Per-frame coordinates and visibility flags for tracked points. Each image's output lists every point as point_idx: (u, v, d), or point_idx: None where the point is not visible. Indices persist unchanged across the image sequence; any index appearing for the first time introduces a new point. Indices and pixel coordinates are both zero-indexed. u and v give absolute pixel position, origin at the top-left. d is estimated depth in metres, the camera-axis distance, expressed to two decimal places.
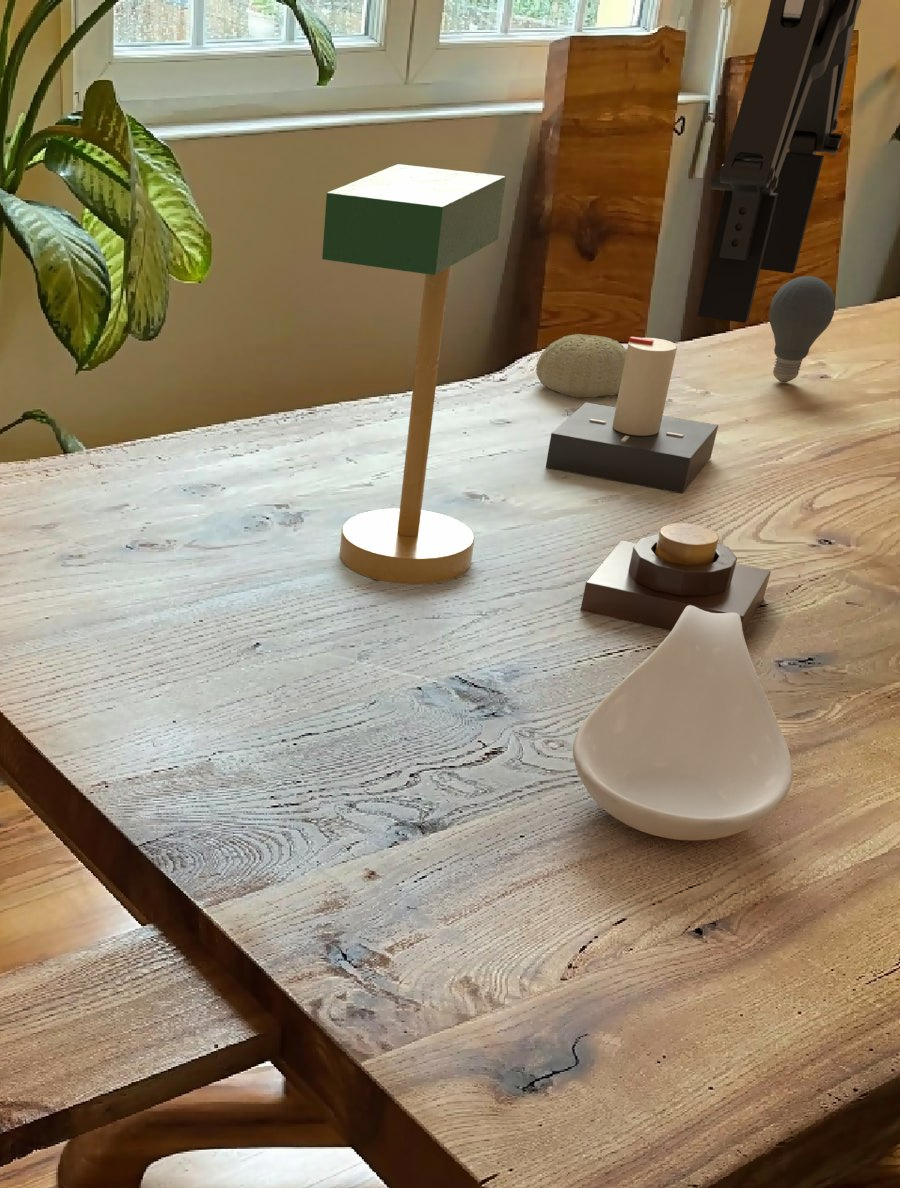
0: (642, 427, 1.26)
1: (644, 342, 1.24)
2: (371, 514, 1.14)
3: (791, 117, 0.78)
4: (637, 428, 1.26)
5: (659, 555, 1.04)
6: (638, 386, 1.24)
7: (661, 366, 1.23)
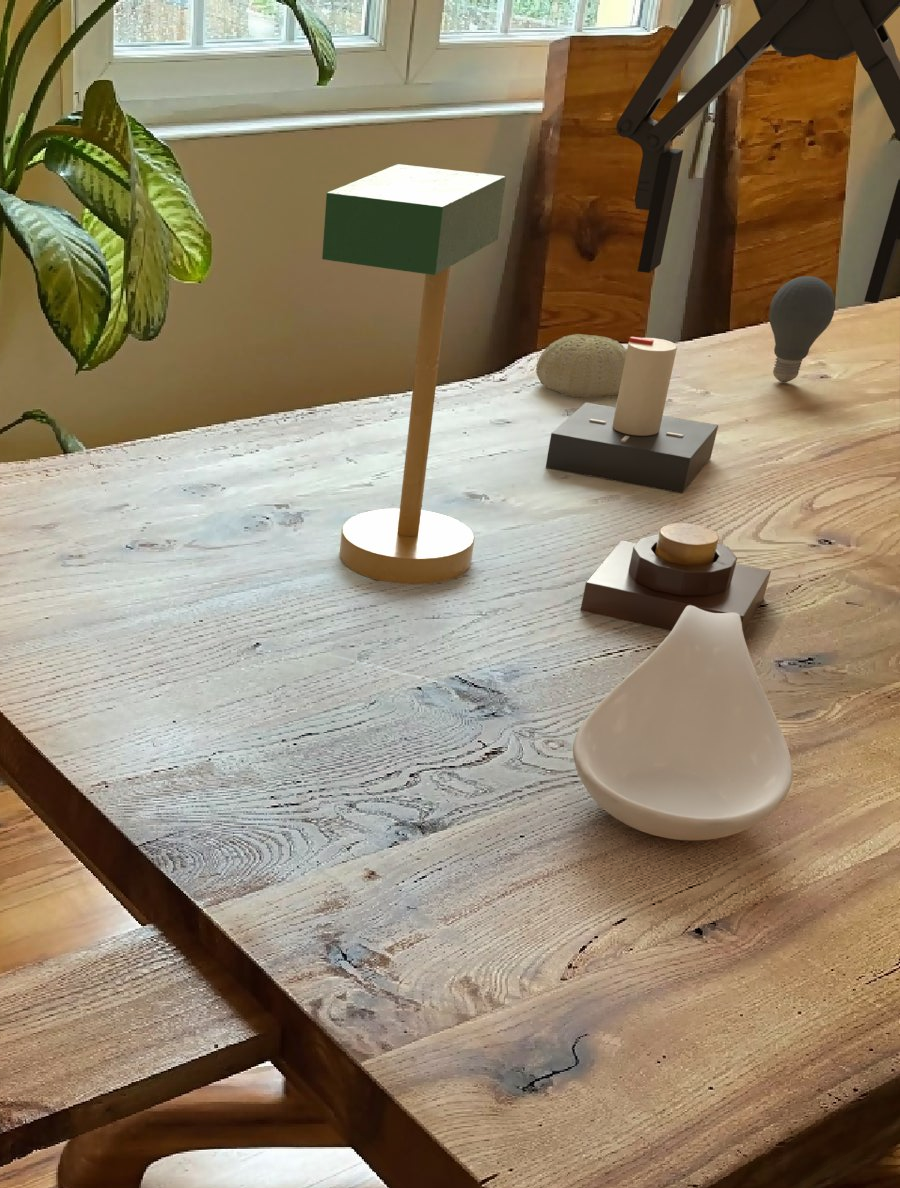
0: (642, 427, 1.26)
1: (644, 342, 1.24)
2: (371, 514, 1.14)
3: None
4: (637, 428, 1.26)
5: (659, 555, 1.04)
6: (638, 386, 1.24)
7: (661, 366, 1.23)
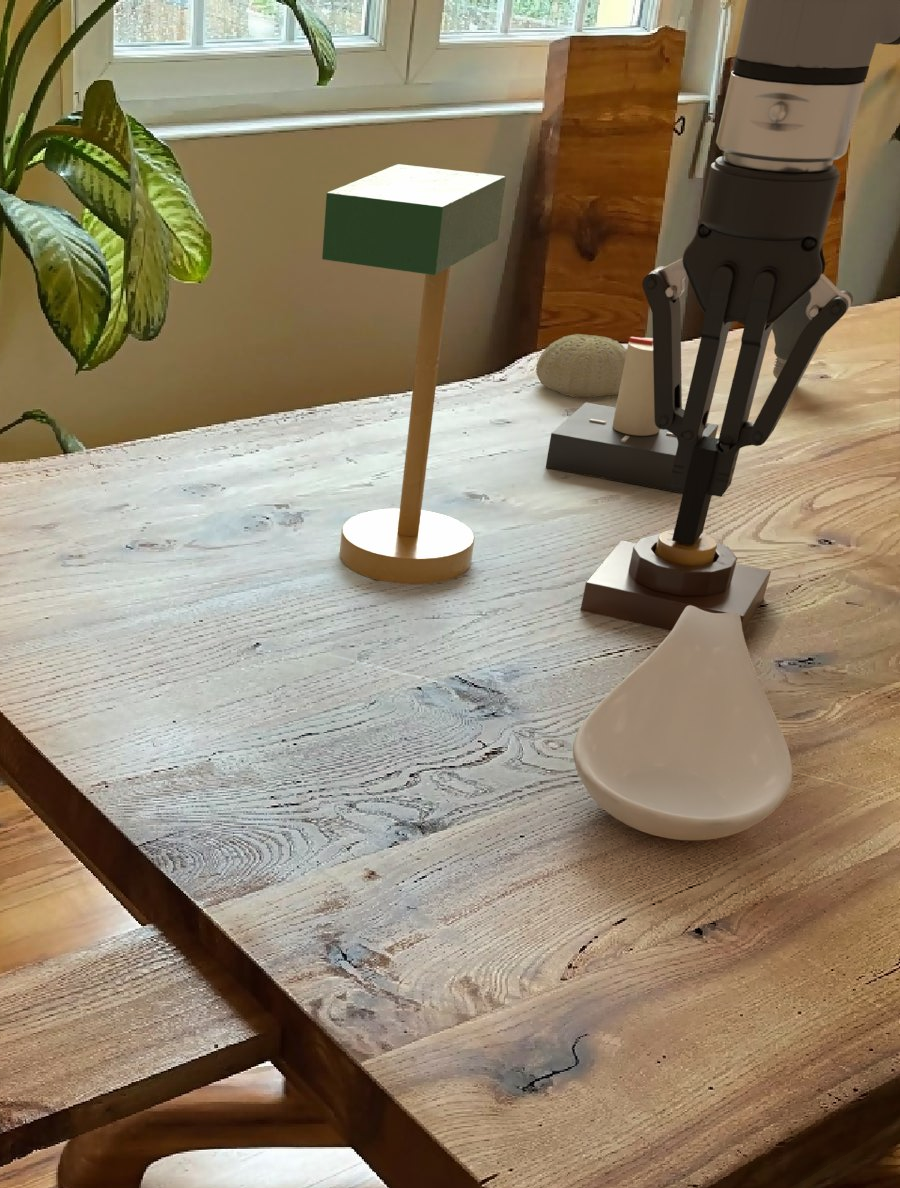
0: (642, 427, 1.26)
1: (644, 342, 1.24)
2: (371, 514, 1.14)
3: (756, 384, 0.97)
4: (637, 428, 1.26)
5: None
6: (638, 386, 1.24)
7: None
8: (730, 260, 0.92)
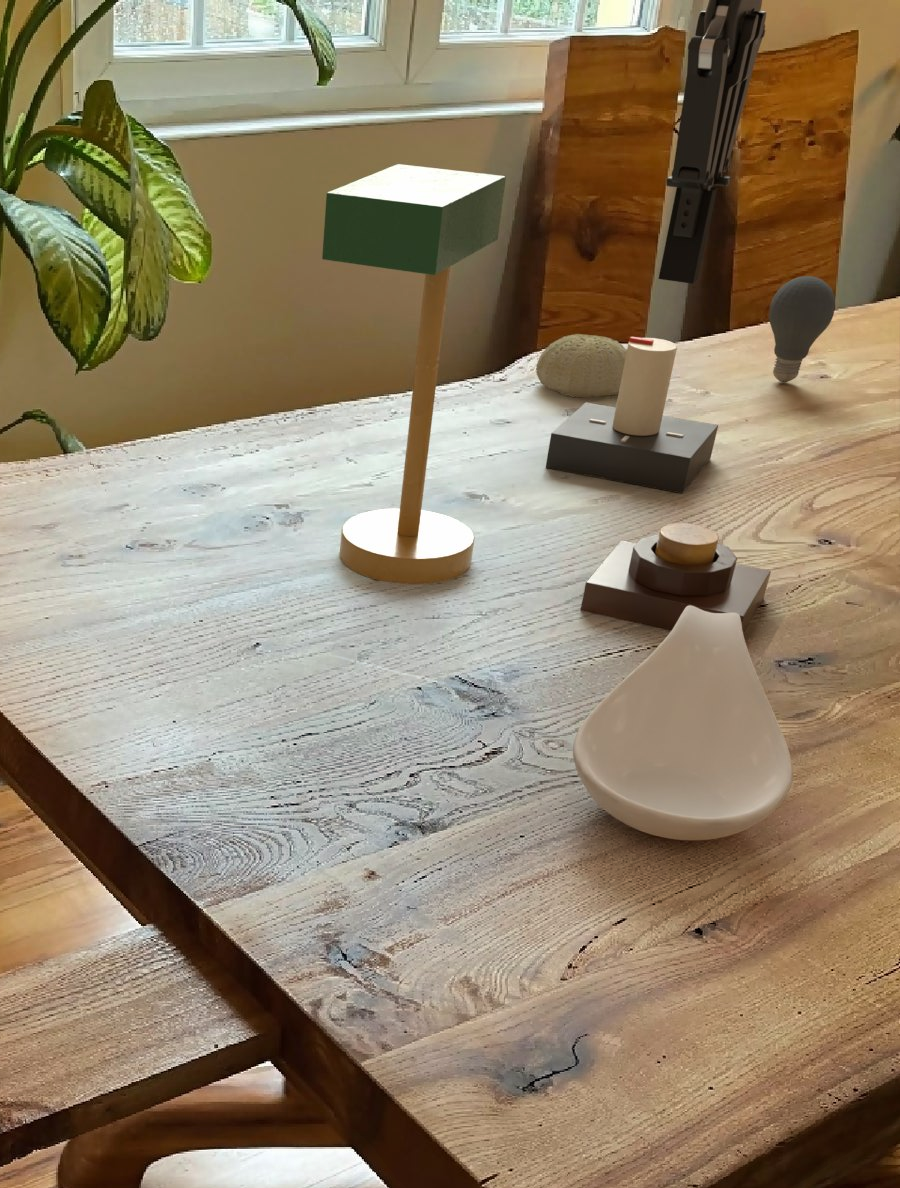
0: (642, 427, 1.26)
1: (644, 342, 1.24)
2: (371, 514, 1.14)
3: None
4: (637, 428, 1.26)
5: (659, 555, 1.04)
6: (638, 386, 1.24)
7: (661, 366, 1.23)
8: (746, 10, 1.03)
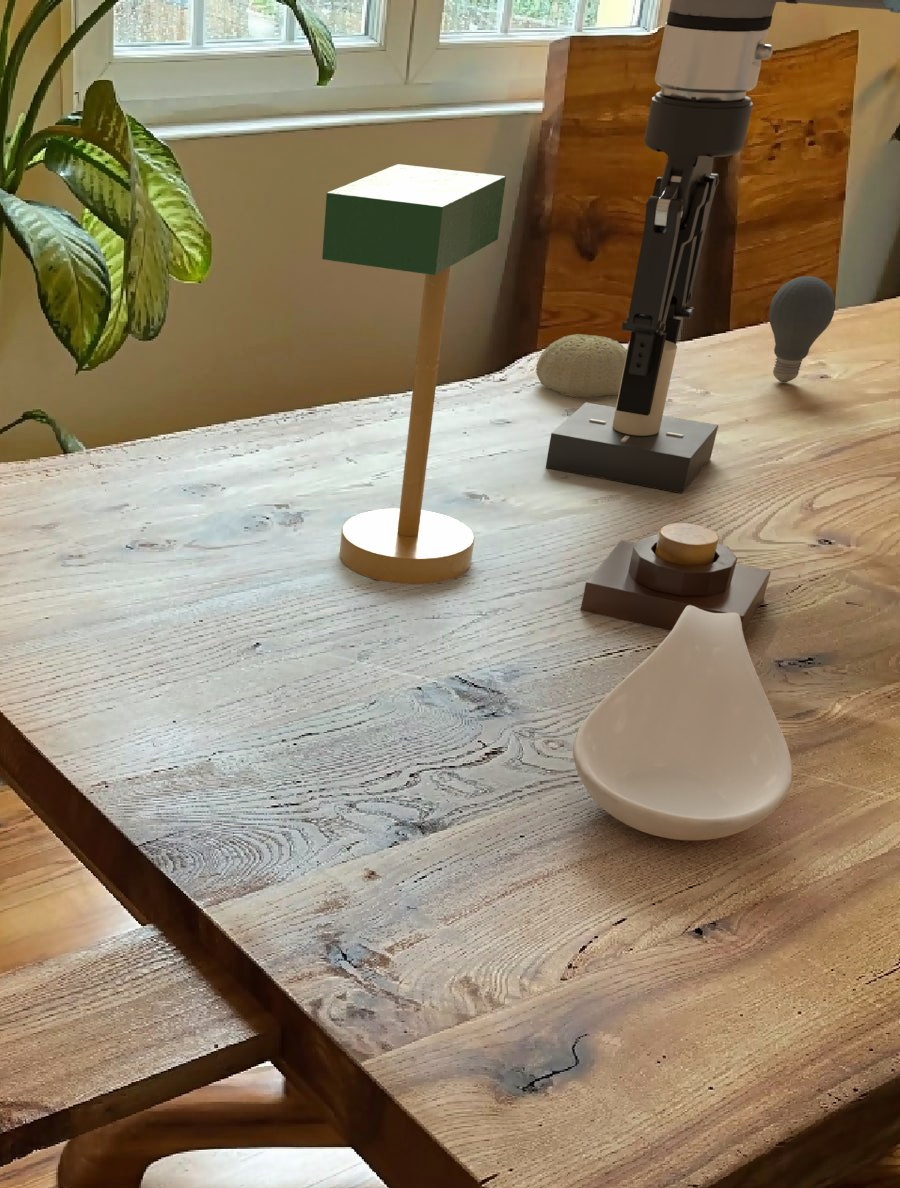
0: (642, 427, 1.26)
1: None
2: (371, 514, 1.14)
3: None
4: (637, 428, 1.26)
5: (659, 555, 1.04)
6: None
7: (661, 366, 1.23)
8: (697, 178, 1.15)
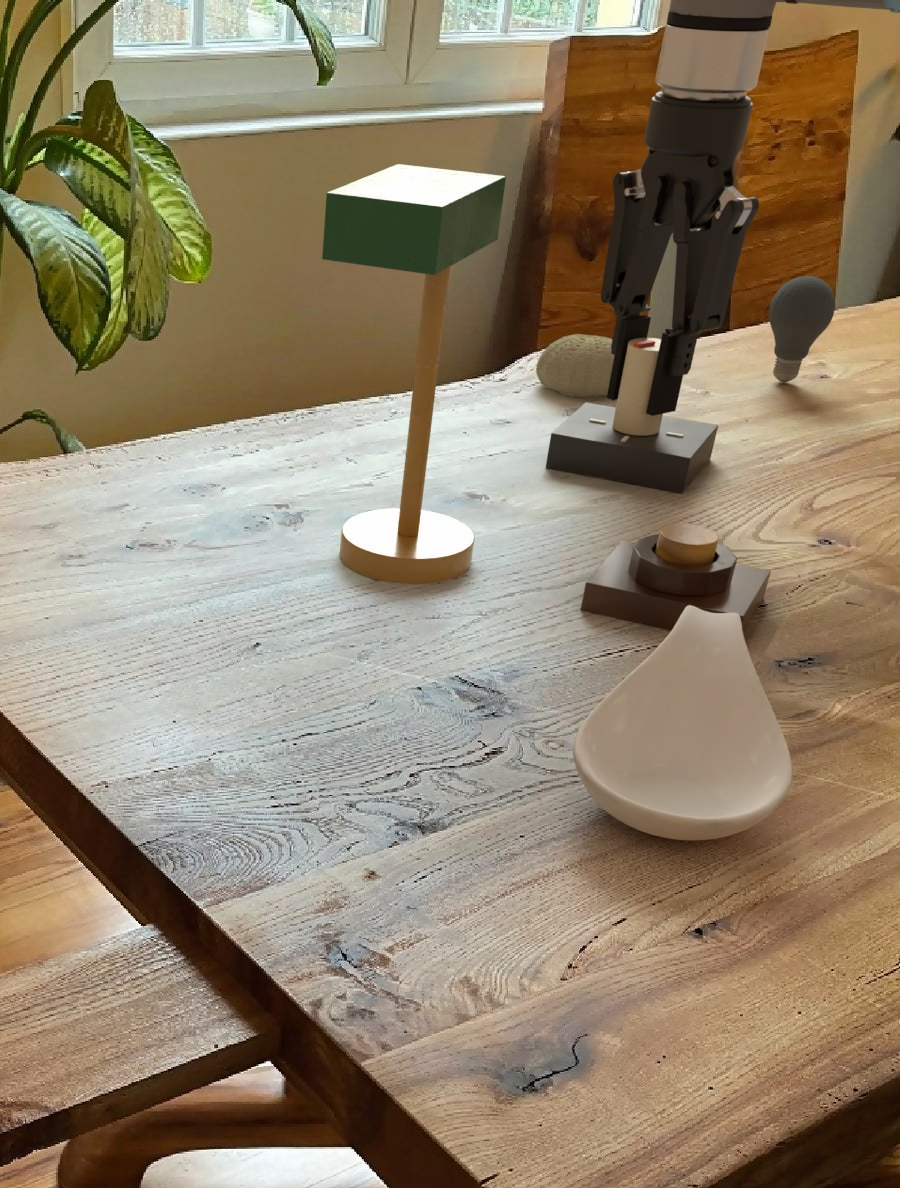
0: (660, 424, 1.27)
1: (650, 344, 1.23)
2: (371, 514, 1.14)
3: (629, 266, 1.22)
4: (657, 426, 1.27)
5: (659, 555, 1.04)
6: None
7: None
8: None
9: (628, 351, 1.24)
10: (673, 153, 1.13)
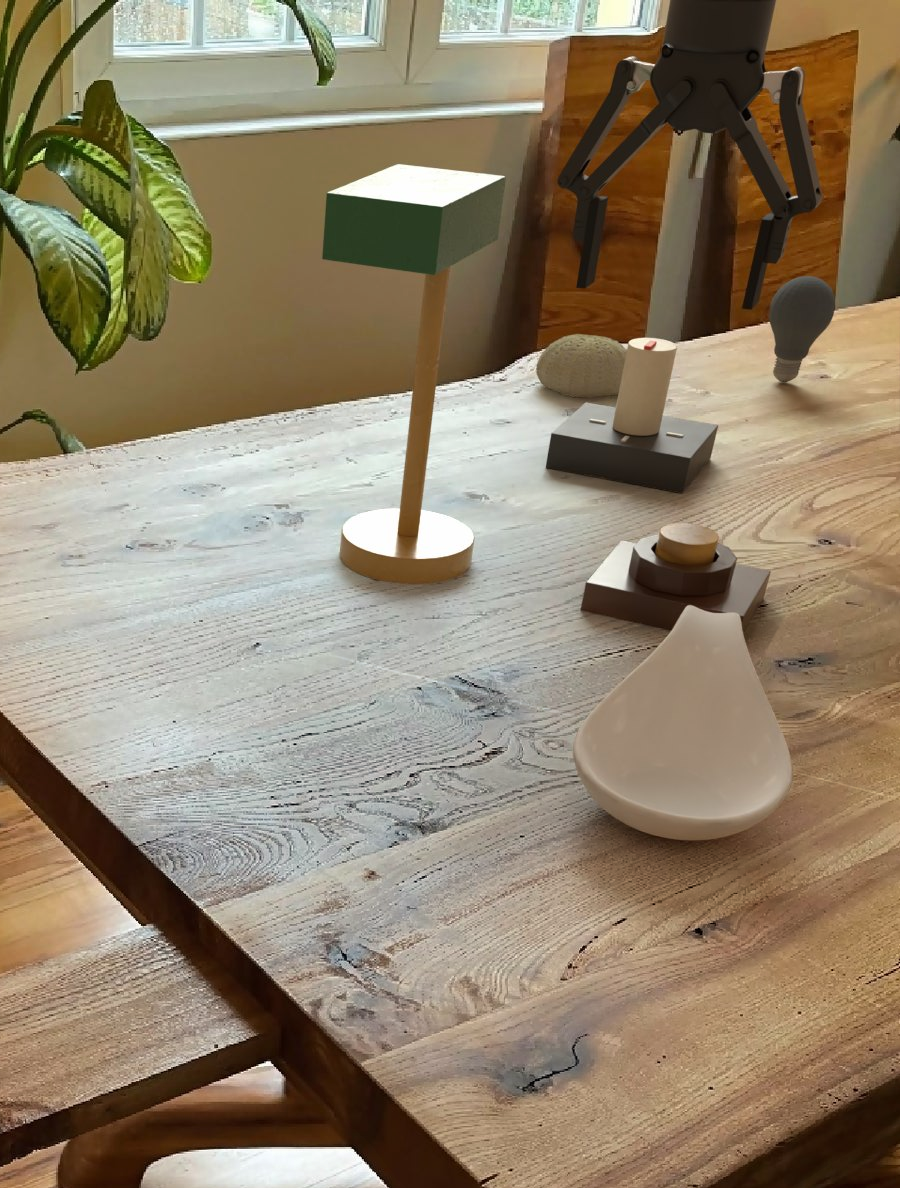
0: None
1: (655, 345, 1.23)
2: (371, 514, 1.14)
3: (611, 153, 1.17)
4: (660, 423, 1.27)
5: (659, 555, 1.04)
6: (668, 384, 1.25)
7: None
8: None
9: (635, 354, 1.23)
10: (719, 52, 1.08)
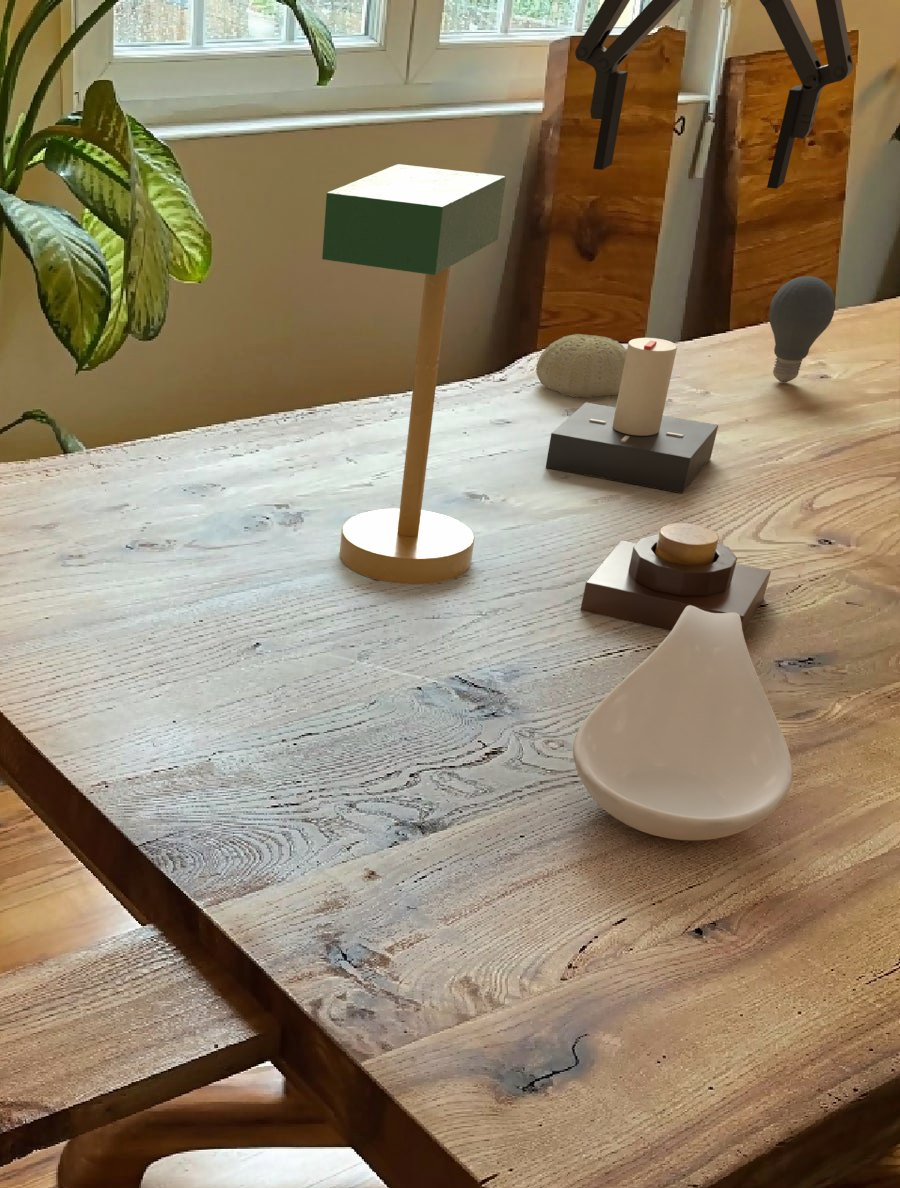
0: None
1: (655, 345, 1.23)
2: (371, 514, 1.14)
3: (632, 21, 1.11)
4: (660, 423, 1.27)
5: (659, 555, 1.04)
6: (668, 384, 1.25)
7: None
8: None
9: (635, 354, 1.23)
10: None
